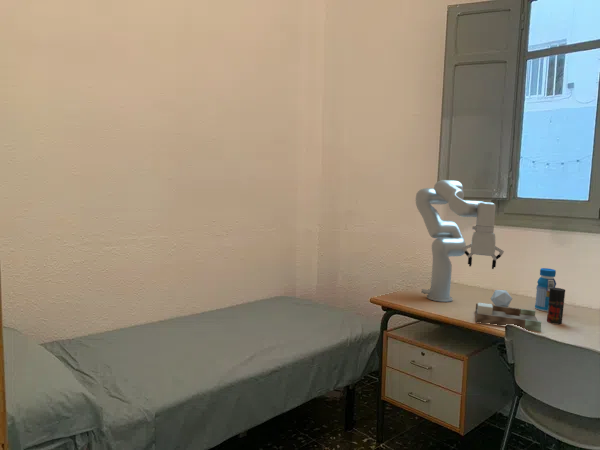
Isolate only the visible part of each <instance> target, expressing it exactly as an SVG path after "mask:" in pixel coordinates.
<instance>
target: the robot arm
mask: <svg viewBox="0 0 600 450" xmlns="http://www.w3.org/2000/svg"><path fill="white" fill-rule="evenodd" d="M464 197H465V192H464V186H463V184H462V183H461V182H460V181H459V180H453V179H452V180H451V179H441V180H439V181H437V182H436V183H435V184H434V186H433V187H429V188H428V187H426V188H420V189H419V190H418V191H417V193H416V195H415V205H416V209H417V210H418V212H419V214H420V215H421V218H422V219H423V222H424V225H425V227H426V230H427V232H428V234H429V236H430V237H431V238H433V239H434V240H433V241H432V244H431V255H432V265H431V268H432V269H431V278H430V279H431V281H430V288H428V289H424V288H422V289H421V293H423V294H426V298H427V299H429V300H430V301H434V302H440V303H449V302H452V301H453V297H452V296H450V295H451V294H450V293H451V283H452V282H451V281H452V271H453V269H452V268H453V266H452V262H451V260H450V257H462V256H464V255H466V256H467V258H468V259H467V265H469V266H468V267H472V264H473V262H472V261H473V255H478V256H489V257H491V258H492V265H491V270H494V268H496V266H497V260H498V259H500V258H501V257H502V256H503V254H504V252H505V251H504V250H503V249H501V248H500V247H497V245H496V234H495V232H494V230H495V229H494V228H495V221H496V220H495V217H496V208H497V207H496V204H495V203H493V202H488V201H487V202H485V201H481V200H464ZM446 204H448V207H449V209H450V210H451V211H452V213H454V214H456V215H457V216H459V217H463V218H476V223H475V226H472V230H474V231H473V234H472V238H471V243H470V244H467V245H466V243H467V242H466V241H465V238H464V236H463V234H462V232H461V230H460V227H459V224H457V223H456V222H455V221H454V220H449V219H448V220H447V219H445V220H444V219H443V218H442V217H441V215H440V213H439V211H438V210H437V209H436V208H435V207H434V206H432V205H439V206H440V205H446ZM468 249H470V253H469V251H468ZM496 251H497V252H498V254H497V255H495V253H496Z"/></svg>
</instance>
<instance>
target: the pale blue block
mask: <svg viewBox="0 0 600 450" xmlns="http://www.w3.org/2000/svg"><path fill="white" fill-rule="evenodd" d="M477 304H478V308H477V313H479V314H487V315H492V312H493V306H494V305H493V304H492V303H484V302H483V303H482V302H477ZM492 305H493V306H492Z"/></svg>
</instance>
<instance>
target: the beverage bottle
mask: <svg viewBox="0 0 600 450" xmlns="http://www.w3.org/2000/svg"><path fill="white" fill-rule="evenodd" d="M556 272H557V271H556V269H553V268H549V267H547V268H546V267H541V268H540V269H539V278H538V279H537V282H536V283H537V285H536V294H535V304H534V308H535V310H538V311H540V312H541V311H542V312H546V313H548V304H549V294H550V288H556V287H557V282H556V279H555V278H556V275H557V274H556Z"/></svg>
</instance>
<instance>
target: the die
mask: <svg viewBox="0 0 600 450" xmlns="http://www.w3.org/2000/svg"><path fill="white" fill-rule="evenodd" d="M512 300H513V298H512V296H511V295H510V294H509V292H508V291H507V290H503V289H495V290H494V291H493V293H492V295H491V298H490V301H492V303H493V305H494V306H501V307H509V305H510V303H511V302H512Z"/></svg>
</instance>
